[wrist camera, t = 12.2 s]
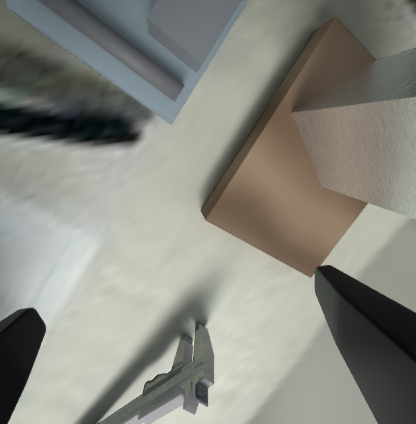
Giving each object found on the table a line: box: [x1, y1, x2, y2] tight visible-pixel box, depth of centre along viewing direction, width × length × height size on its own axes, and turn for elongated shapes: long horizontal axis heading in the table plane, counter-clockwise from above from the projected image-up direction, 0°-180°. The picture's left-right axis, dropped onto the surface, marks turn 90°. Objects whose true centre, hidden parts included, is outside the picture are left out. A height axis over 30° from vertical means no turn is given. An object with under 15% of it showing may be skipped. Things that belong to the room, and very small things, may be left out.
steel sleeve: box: [291, 48, 416, 219], centre depth 13 cm, size 6×6×8 cm
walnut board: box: [201, 17, 376, 278], centre depth 18 cm, size 14×10×2 cm
